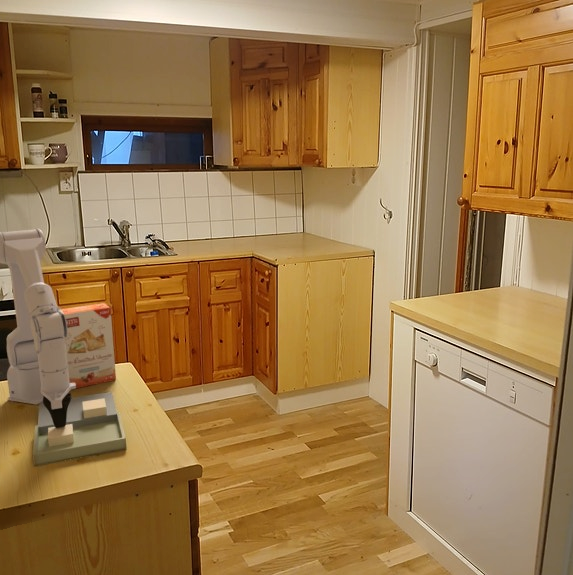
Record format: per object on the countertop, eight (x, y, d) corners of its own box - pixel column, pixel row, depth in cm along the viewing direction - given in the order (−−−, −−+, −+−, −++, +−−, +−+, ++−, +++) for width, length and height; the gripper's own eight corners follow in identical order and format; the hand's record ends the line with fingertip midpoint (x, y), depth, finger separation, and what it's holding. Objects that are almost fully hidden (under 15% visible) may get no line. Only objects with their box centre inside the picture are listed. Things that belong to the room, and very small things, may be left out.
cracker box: (63, 392, 153) (55, 315, 148) (59, 384, 158) (50, 309, 153) (117, 380, 160) (110, 306, 155) (111, 373, 165) (104, 301, 160)
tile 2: (83, 409, 138) (82, 401, 138) (105, 406, 140) (104, 398, 140) (84, 418, 134) (83, 410, 133) (106, 414, 136) (106, 406, 135)
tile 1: (49, 436, 129) (48, 427, 129) (73, 432, 131) (72, 423, 131) (48, 446, 125) (47, 438, 124) (73, 442, 126) (72, 433, 126)
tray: (36, 435, 130) (35, 425, 130) (120, 421, 137) (119, 411, 136) (34, 466, 118) (32, 455, 117) (126, 449, 124) (125, 438, 124)
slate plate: (40, 410, 143) (39, 403, 142) (112, 399, 149) (112, 391, 148) (38, 435, 131) (37, 427, 130) (117, 421, 136) (117, 414, 136)
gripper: (74, 377, 120) (81, 437, 124) (72, 354, 134) (78, 409, 137) (37, 382, 118) (44, 443, 121) (39, 358, 131) (45, 414, 135)
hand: (60, 426), depth 129 cm, fingers closed
